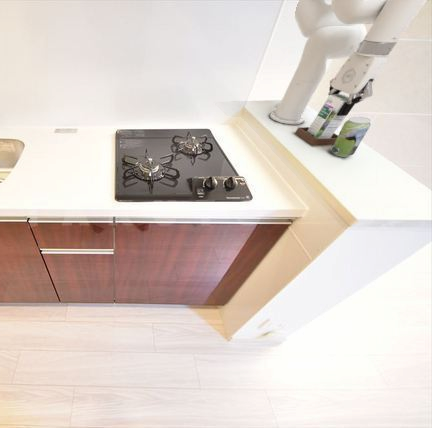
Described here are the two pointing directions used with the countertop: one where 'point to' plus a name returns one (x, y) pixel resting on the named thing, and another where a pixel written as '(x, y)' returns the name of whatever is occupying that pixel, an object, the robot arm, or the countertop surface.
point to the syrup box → (328, 117)
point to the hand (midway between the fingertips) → (334, 111)
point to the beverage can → (350, 136)
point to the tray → (313, 141)
